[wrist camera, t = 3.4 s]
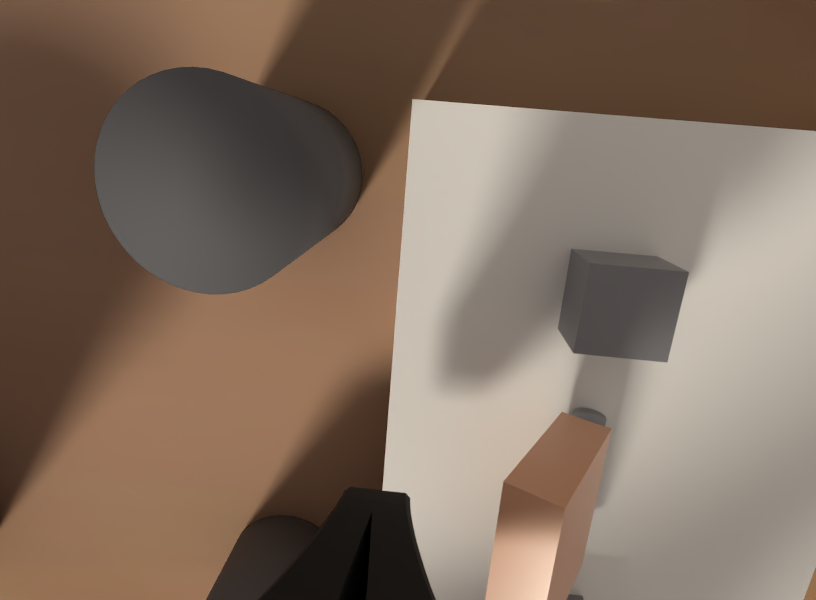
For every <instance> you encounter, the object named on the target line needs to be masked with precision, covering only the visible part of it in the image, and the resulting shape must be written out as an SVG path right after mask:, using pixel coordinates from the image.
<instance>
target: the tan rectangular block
mask: <svg viewBox="0 0 816 600" xmlns="http://www.w3.org/2000/svg"><path fill="white" fill-rule="evenodd" d="M606 420H607V419H606V417H605V415H603V414H602V413H601V412H599V411H596V410H594V409H590V408H582V407H581V408H576V409H574V410H573V413H572V415H570V414H567V413H564V412H561V413H560V415H559V416H558V417H557V418H556V419H555V421H554V422H553V423H552V424H551V425H550V427H549V428H548V429H547V430H546V431H545V433H544V434H543V435H542V436H541V437H540V438H539V440H538V441H537V442H536V443H535V444H534V446H533V447H532V448H531V449H530V450H529V452H528V453H527V454H526V455H525V456H524V458H523V459H522V460H521V461H520V462H519V463H518V465H517V466H516V467H515V468H514V469H513V471H512V472H511V473H510V474H509V475H508V477H507V478H506V479H505V480H504V481H503V487H502V493H501V500H500V506H499V513H498V519H497V526H496V532H495V539H494V545H493V552H492V558H491V564H490V571H489V577H488V584H487V590H486V597H485V600H567V597H568V595H569V593H570V591H571V589H572V587H573V584H574V582H575V580H576V578H577V576H578V573H579V571H580V569H581V567H582V563H583V559H584V554H585V550H586V545H587V540H588V536H589V531H590V527H591V522H592V517H593V513H594V508H595V504H596V499H597V494H598V490H599V485H600V481H601V476H602V471H603V467H604V462H605V458H606V453H607V448H608V444H609V439H610V435H611V430H612V429H611V428H608V427H605V425H606Z"/></svg>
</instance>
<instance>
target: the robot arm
mask: <svg viewBox="0 0 816 600" xmlns="http://www.w3.org/2000/svg"><path fill="white" fill-rule="evenodd" d="M258 600H436V599H435V596H434V593H433V591H432V588H431V585H430V583H429V580H428V577H427V574H426V571H425V568H424V565H423V561H422V558H421V555H420V552H419V548H418V544H417V541H416V537H415V532H414V528H413V523H412V517H411V508H410V497H409V496H408V495H407V494H406V493H401V492H392V491H382V490H373V489H364V488H354V487H350V488H348V489H347V490H345V491H344V493H343V495H342V497H341V498H340V500H339V501H338V503H337V505H336V506H335V508H334V509H333V511H332V512H331V514H330V515H329V516H328V518H327V519H326V520H325V522H324V523H323V525H322V526H321V527H320V529H319V530H318V531H317V533H316V534H315V535H314V536H313V538H312V539H311V540H310V541H309V543H308V544H307V545H306V546H305V548H304V549H303V550H302V551H301V553H300V554H299V555H298V556H297V557H296V559H295V560H294V561H293V562H292V563H291V564H290V565H289V566H288V567H287V569H286V570H285V571H284V572H283V573H282V574H281V575H280V576H279V577H278V579H277V580H276V581H275V582H274V583H273V584H272V585H271V586H270V587H269V588H268V589H267V590H266V591H265V592H264V593H263V595H262V596H261V597H260V598H259V599H258Z"/></svg>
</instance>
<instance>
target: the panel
mask: <svg viewBox="0 0 816 600" xmlns="http://www.w3.org/2000/svg"><path fill="white" fill-rule="evenodd" d="M581 407H582V408H590V409H594V410H596V411H599V412H601V413H602V414H603V415H605V417H606V419H607V420H606V425H605V427H608V428H611V429H612V430H611V435H610V439H609V444H608V448H607V453H606V458H605V462H604V467H603V471H602V476H601V481H600V485H599V490H598V494H597V499H596V504H595V508H594V513H593V517H592V522H591V527H590V531H589V536H588V540H587V545H586V550H585V554H584V559H583V563H582V567H581V569H580V571H579V573H578V576H577V578H576V580H575V582H574V584H573V587H572V589H571V591H570V593H569V595H568V597H567V600H803V599H804V596H805V594H806V591H807V588H808V586H809V583H810V581H811V578H812V575H813V573H814V570H815V567H816V131H808V130H796V129H783V128H770V127H758V126H745V125H733V124H720V123H707V122H695V121H682V120H669V119H657V118H644V117H632V116H619V115H606V114H594V113H581V112H569V111H556V110H543V109H531V108H518V107H506V106H493V105H480V104H468V103H455V102H443V101H430V100H417V99H412V112H411V125H410V138H409V151H408V164H407V177H406V190H405V203H404V216H403V229H402V242H401V255H400V268H399V281H398V294H397V307H396V320H395V333H394V346H393V359H392V372H391V385H390V398H389V411H388V424H387V437H386V450H385V463H384V476H383V489H382V491H392V492H401V493H406V494H407V495H408V496H409V497H410V508H411V517H412V523H413V528H414V532H415V537H416V541H417V544H418V548H419V552H420V555H421V558H422V561H423V565H424V568H425V571H426V574H427V577H428V580H429V583H430V585H431V588H432V591H433V593H434V596H435V599H436V600H485V597H486V590H487V584H488V577H489V571H490V564H491V558H492V552H493V545H494V539H495V532H496V526H497V519H498V513H499V506H500V500H501V493H502V487H503V481H504V480H505V479H506V478H507V477H508V475H509V474H510V473H511V472H512V471H513V469H514V468H515V467H516V466H517V465H518V463H519V462H520V461H521V460H522V459H523V458H524V456H525V455H526V454H527V453H528V452H529V450H530V449H531V448H532V447H533V446H534V444H535V443H536V442H537V441H538V440H539V438H540V437H541V436H542V435H543V434H544V433H545V431H546V430H547V429H548V428H549V427H550V425H551V424H552V423H553V422H554V421H555V419H556V418H557V417H558V416H559V415H560V413H561V412H564V413H567V414H570V415H572V413H573V410H574V409H576V408H581Z"/></svg>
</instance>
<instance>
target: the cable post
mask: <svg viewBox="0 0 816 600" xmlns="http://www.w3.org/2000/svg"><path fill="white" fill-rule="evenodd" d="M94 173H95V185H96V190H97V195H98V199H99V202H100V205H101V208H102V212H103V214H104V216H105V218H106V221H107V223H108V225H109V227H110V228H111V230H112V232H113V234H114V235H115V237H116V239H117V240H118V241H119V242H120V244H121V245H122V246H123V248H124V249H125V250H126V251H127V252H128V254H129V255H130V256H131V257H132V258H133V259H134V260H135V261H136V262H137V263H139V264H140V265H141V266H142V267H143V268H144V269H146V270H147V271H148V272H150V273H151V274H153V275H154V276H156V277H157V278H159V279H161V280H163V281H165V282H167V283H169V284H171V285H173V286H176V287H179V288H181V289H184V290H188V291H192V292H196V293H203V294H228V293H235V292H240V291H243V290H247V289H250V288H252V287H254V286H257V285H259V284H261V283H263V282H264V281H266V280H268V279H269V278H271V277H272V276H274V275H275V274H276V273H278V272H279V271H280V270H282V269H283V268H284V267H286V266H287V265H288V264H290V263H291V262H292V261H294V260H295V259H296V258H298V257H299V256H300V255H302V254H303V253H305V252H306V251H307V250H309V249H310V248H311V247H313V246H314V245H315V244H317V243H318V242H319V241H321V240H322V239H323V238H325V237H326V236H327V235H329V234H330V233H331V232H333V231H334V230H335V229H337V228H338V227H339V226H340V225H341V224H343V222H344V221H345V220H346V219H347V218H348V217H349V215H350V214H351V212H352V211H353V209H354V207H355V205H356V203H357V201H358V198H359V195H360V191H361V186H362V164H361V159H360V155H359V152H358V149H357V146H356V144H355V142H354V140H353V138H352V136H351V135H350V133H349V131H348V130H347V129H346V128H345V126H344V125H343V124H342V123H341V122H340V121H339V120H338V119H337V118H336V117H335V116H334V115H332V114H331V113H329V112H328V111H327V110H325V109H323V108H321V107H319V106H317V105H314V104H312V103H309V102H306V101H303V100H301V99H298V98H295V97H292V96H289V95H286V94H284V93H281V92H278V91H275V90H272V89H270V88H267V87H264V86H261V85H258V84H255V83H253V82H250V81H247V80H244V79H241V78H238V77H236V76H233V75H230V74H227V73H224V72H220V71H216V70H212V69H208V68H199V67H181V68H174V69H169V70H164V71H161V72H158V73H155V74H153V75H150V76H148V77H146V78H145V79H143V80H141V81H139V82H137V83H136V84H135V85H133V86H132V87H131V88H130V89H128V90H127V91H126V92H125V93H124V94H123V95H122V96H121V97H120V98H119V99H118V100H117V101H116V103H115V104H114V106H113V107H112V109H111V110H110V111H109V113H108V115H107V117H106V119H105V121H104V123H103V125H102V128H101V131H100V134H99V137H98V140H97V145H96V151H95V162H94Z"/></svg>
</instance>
